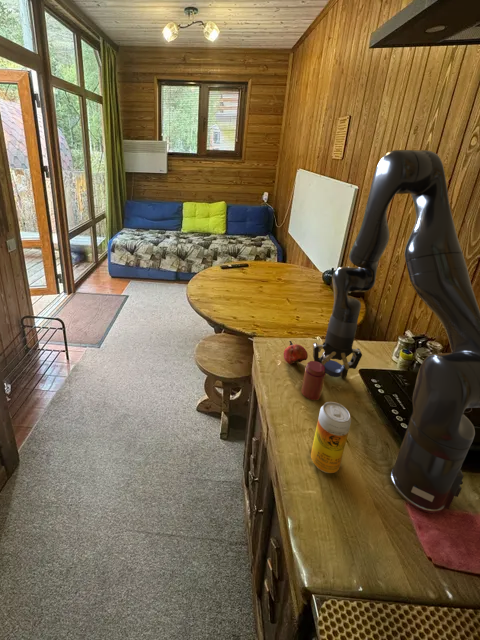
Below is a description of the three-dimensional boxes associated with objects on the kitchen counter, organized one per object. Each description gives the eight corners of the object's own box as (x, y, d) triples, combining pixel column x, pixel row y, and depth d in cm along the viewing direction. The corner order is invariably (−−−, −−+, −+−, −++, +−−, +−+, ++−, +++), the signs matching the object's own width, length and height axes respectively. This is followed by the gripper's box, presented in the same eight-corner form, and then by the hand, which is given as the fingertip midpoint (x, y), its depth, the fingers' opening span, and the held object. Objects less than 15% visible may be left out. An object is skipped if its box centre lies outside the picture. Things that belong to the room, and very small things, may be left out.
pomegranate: (308, 373, 101) (301, 343, 106) (314, 368, 95) (306, 336, 100) (285, 374, 101) (279, 344, 107) (290, 369, 95) (283, 338, 100)
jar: (317, 386, 92) (322, 360, 89) (323, 400, 87) (329, 373, 84) (299, 385, 92) (303, 359, 89) (304, 399, 87) (309, 372, 84)
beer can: (313, 473, 68) (325, 421, 62) (307, 448, 73) (317, 398, 68) (342, 477, 67) (356, 425, 62) (334, 451, 72) (346, 402, 67)
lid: (321, 362, 100) (322, 358, 100) (341, 367, 98) (342, 362, 98) (322, 374, 95) (323, 369, 94) (343, 379, 93) (344, 374, 93)
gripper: (318, 333, 89) (309, 379, 95) (371, 340, 87) (359, 387, 93) (314, 319, 96) (305, 363, 102) (363, 326, 94) (352, 370, 100)
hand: (331, 374), depth 97 cm, fingers closed on lid, 5 cm apart
